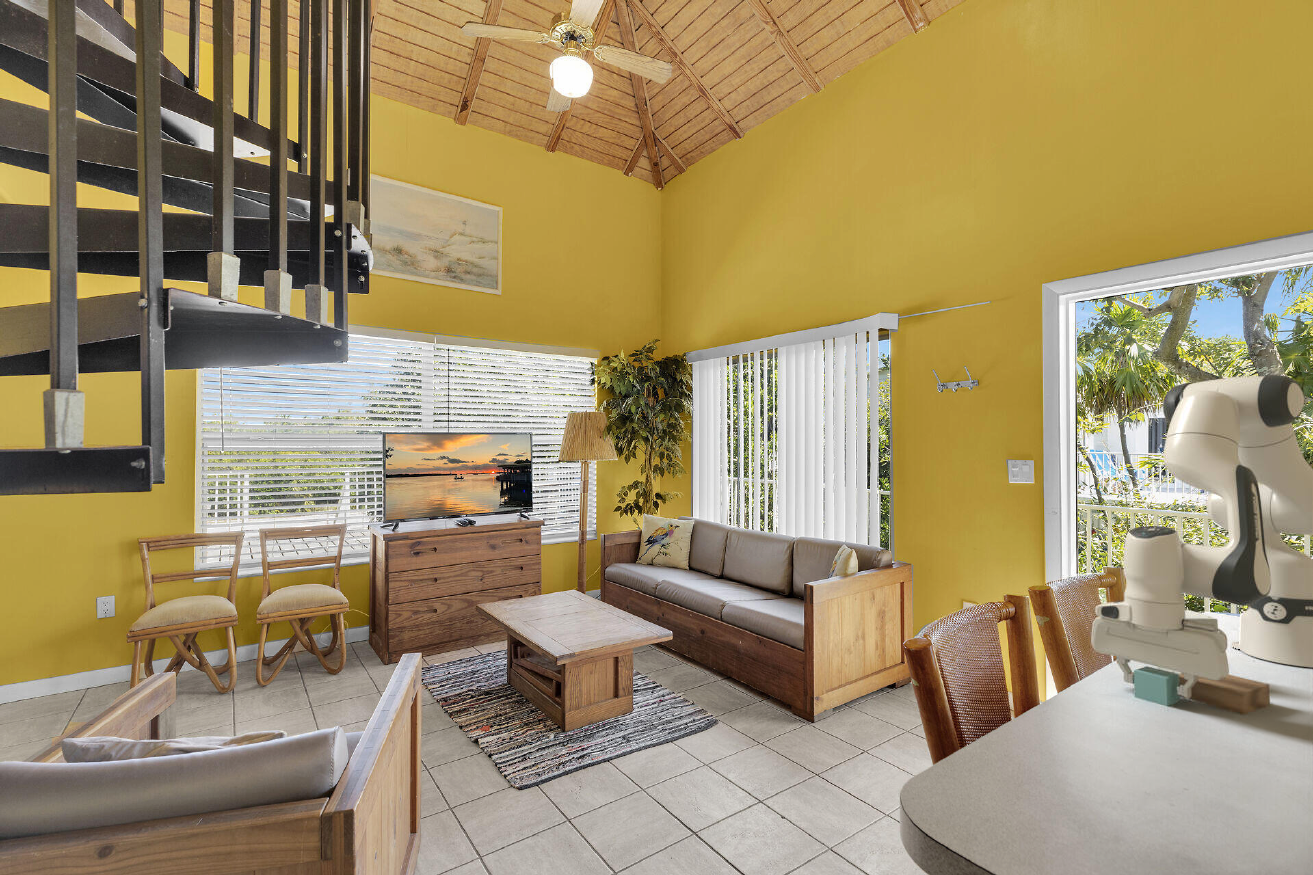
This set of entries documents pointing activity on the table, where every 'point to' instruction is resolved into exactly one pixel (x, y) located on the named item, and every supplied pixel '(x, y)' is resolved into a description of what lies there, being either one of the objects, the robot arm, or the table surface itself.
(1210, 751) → the table surface
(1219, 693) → the walnut block
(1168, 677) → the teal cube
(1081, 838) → the table surface
